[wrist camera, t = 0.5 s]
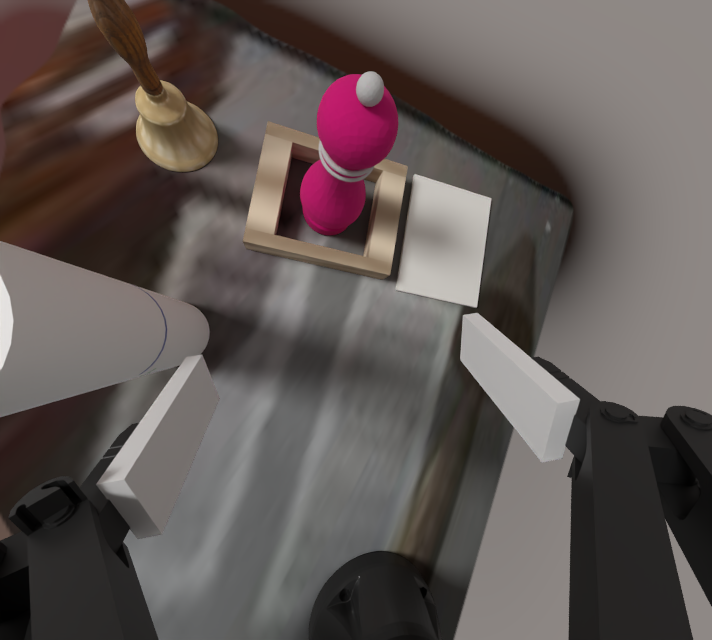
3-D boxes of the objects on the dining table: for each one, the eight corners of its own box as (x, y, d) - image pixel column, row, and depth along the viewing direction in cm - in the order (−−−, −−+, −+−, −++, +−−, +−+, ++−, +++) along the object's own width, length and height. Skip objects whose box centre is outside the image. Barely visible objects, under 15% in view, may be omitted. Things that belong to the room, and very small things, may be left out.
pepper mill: (350, 182, 38) (418, 24, 19) (359, 237, 38) (437, 135, 19) (293, 184, 37) (304, 14, 17) (303, 242, 37) (325, 137, 17)
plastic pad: (474, 307, 42) (476, 307, 41) (395, 290, 39) (396, 289, 39) (489, 200, 43) (491, 198, 43) (413, 176, 40) (414, 174, 40)
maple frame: (382, 279, 39) (390, 275, 36) (246, 248, 35) (242, 241, 32) (398, 178, 40) (407, 166, 37) (269, 138, 36) (267, 121, 33)
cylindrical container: (223, 330, 34) (70, 318, 10) (176, 379, 33) (-143, 509, 8) (172, 287, 33) (-145, 152, 9) (121, 336, 32) (-428, 339, 7)
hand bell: (232, 154, 35) (191, 11, 20) (165, 184, 33) (61, 53, 18) (192, 90, 34) (116, -111, 19) (121, 118, 33) (-28, -80, 17)
